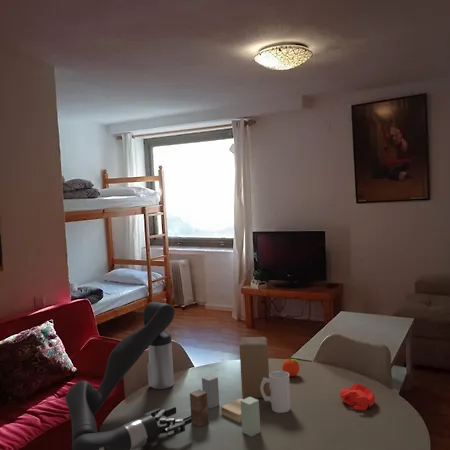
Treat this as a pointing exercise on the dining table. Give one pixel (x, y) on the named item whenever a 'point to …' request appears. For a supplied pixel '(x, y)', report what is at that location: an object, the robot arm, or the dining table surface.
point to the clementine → (291, 367)
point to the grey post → (211, 390)
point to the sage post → (250, 416)
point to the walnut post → (199, 407)
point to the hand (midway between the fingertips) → (183, 413)
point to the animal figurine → (358, 396)
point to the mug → (278, 391)
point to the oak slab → (232, 410)
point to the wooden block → (254, 366)
